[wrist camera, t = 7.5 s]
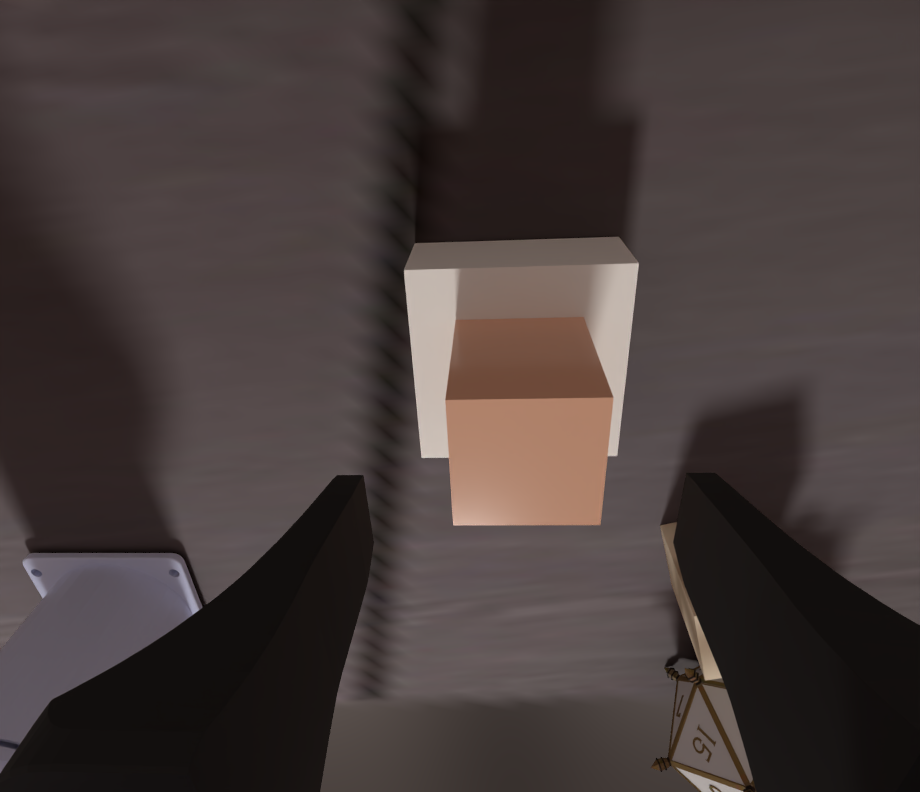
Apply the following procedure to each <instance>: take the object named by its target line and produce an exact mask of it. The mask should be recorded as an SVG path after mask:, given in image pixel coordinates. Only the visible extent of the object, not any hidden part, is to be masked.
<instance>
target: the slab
mask: <svg viewBox="0 0 920 792" xmlns="http://www.w3.org/2000/svg"><path fill="white" fill-rule="evenodd" d="M638 266H639V263H638V262H637V260H636V259H635V258H634V256H633V255H632V254H631V252H630V251H629V249H628V248H627V247H626V245H625V244H624V243H623V241H622V240H621V239H620V237H596V238H565V239H534V240H502V241H471V242H440V243H415V244H414V247H413V249H412V252H411V254H410V257H409V259H408V261H407V264H406V266H405V269H404V276H405V287H406V297H407V308H408V319H409V329H410V340H411V350H412V361H413V372H414V382H415V393H416V403H417V414H418V425H419V435H420V446H421V456H422V458H449V451H448V435H447V419H446V404H445V398H446V390H447V383H448V375H449V367H450V359H451V352H452V344H453V336H454V328H455V321H456V320H473V319H516V318H560V317H584V319H585V322H586V325H587V327H588V330H589V333H590V335H591V338H592V341H593V343H594V346H595V349H596V352H597V354H598V357H599V360H600V362H601V365H602V368H603V370H604V373H605V376H606V378H607V381H608V384H609V386H610V389H611V392H612V395H613V397H614V398H613V408H612V418H611V427H610V437H609V446H608V456H617V452H618V443H619V434H620V425H621V416H622V408H623V399H624V390H625V381H626V372H627V363H628V354H629V345H630V337H631V328H632V319H633V310H634V301H635V292H636V283H637V275H638Z"/></svg>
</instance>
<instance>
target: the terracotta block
mask: <svg viewBox="0 0 920 792" xmlns="http://www.w3.org/2000/svg"><path fill="white" fill-rule="evenodd" d="M613 398H614V397H613V395H612V392H611V389H610V386H609V384H608V381H607V378H606V376H605V373H604V370H603V368H602V365H601V362H600V360H599V357H598V354H597V352H596V349H595V346H594V343H593V341H592V338H591V335H590V333H589V330H588V327H587V325H586V322H585V319H584V317H560V318H516V319H473V320H456V321H455V328H454V336H453V344H452V352H451V359H450V367H449V375H448V383H447V390H446V398H445V404H446V419H447V435H448V451H449V466H450V482H451V498H452V513H453V525H600V523H601V514H602V504H603V494H604V485H605V475H606V466H607V456H608V446H609V437H610V427H611V418H612V408H613Z"/></svg>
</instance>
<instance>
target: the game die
mask: <svg viewBox="0 0 920 792" xmlns="http://www.w3.org/2000/svg"><path fill="white" fill-rule="evenodd" d="M664 668H665V667H664ZM665 670H666V672H667V676H668V678H669V677H670V678H671V680H676V681H677V685H676V693H675V702H674V710H673V719H672V727H671V736H670V746H669V753H668V757H667V758H662V757H661V758H660V759H657V758H656V761H655V762H654V764H653V765H652V767H651V768H653V769H657V770H660V771H661V772H662V770H664V769H665V770H667V768H668V767H669V766H672V767H673V768H674V769H675V770H677V771H678V772H679V773H680V774H681V775H682V776H683V777H684V778H685V779H686V780H687V781H688V782H689V783H690V784H691V785H693V786H694V787H695V788H696V789H697V790H698V791H699V792H756V789H755V785H754V781H753V778H752V774H751V770H750V767H749V763H748V760H747V756H746V752H745V749H744V745H743V742H742V738H741V735H740V732H739V728H738V725H737V722H736V718H735V715H734V712H733V708H732V705H731V702H730V699H729V696H728V693H727V690H726V688H725V685H724V682H723V679H722V678H719V679H712V680H705V679H704V676H703V673H702V670H701V667H700V666H699V667H697V668H694V669H690V668H689V669H686V668H685V673H684V674H682V675H679V674H678V671H675V669H674V668H665Z"/></svg>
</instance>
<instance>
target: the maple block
mask: <svg viewBox="0 0 920 792" xmlns="http://www.w3.org/2000/svg"><path fill="white" fill-rule="evenodd" d="M676 525H677V522H675V523H670V524H665V525H660V527H661V532H662V537H663V543H664V548H665V553H666V558H667V563H668V568H669V573H670V579H671V584H672V587H673V590H674V593H675V596H676V599H677V602H678V604H679V607H680V610H681V613H682V616H683V619H684V622H685V624H686V627H687V630H688V633H689V636H690V639H691V642H692V644H693V647H694V650H695V653H696V656H697V659H698V661H699V664H700V667H701V670H702V673H703V676H704V679H705V680H712V679H719V678H722V677H721V674H720V672H719V669H718V667H717V665H716V662H715V660H714V657H713V655H712V652H711V650H710V648H709V645H708V643H707V640H706V638H705V635H704V633H703V630H702V628H701V626H700V623H699V621H698V618H697V616H696V613H695V611H694V608H693V606H692V603H691V601H690V598H689V596H688V593H687V591H686V588H685V586H684V582H683V579H682V575H681V571H680V568H679V564H678V560H677V556H676V552H675V548H674V544H673V540H674V535H675V530H676Z"/></svg>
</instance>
